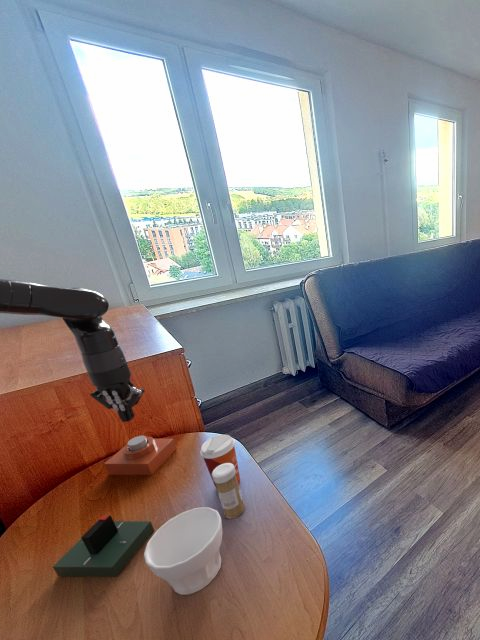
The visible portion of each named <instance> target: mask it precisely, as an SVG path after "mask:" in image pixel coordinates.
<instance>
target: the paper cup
mask: <svg viewBox="0 0 480 640" xmlns="http://www.w3.org/2000/svg"><path fill="white" fill-rule="evenodd" d="M199 455H200V457H201V458H202V459H203V461H204V463H205V465H206V468H207V471H208V473H209V475H210V478H211V480H212V483H213V485H214V487H215V490H216V491H217V487H216V484H215V482H214V481H213V478H212V472H213V470H214V469H215V468H216V467H218V466H219V465H221V464H224V463H231V464H233V465H234V467H235V471H236V473H235V474H236V478H237V482H238V485H239V486H240V483H241V477H240V470H239V464H238V463H239V462H238V458H237V452H236V440H235V438H234V437H232V436H231V435H229V434H225V433H224V434H218V435H215V436H212V437H210V438H208V439H206V440H205V441H204V443H203V444H202V445H201V447H200V451H199Z"/></svg>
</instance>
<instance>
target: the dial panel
mask: <svg viewBox="0 0 480 640" xmlns="http://www.w3.org/2000/svg"><path fill="white" fill-rule="evenodd" d="M113 521H114V523H115V525H116V528H117V530H118V532H117V533H116V534H115V536H114V537H113V538H112V539H111V540H110V541H109V542H108V543H107V544H106V545H105V546H104V547H103V549H102V550H101V551H100V552H99V553H98V554H90V553H89V552H88V550H87V548H86V546H85V544H84V542H83V540H82V539H81V538H80V539H79V540H78V541H77V542H76V543H75V544H74V545H73V546H71V548H70V549H69V550H68V551H67V552H66V553H65V554H64V555H63V556H62V557H61V558H60V559H59V560H58V561H57V562H56V563H55V564H54V565H53V566H52V569H53V571H54V572H55V573H56V575H57V576H58V577H60V578H62V577H64V578H65V577H69V578H70V577H71V578H76V577H77V578H78V577H79V578H83V577H86V578H89V577H90V578H103V577H104V578H105V577H106V578H117V577H118V576H119V575H120V573H122V571H123V570H124V569H125V568H126V566H127V565H128V563H129V562H130V561H131V560H132V559H133V557H134V556H135V555H137V553H138V551H139V550H140V549H141V548H142V547H143V545H144V544H145V543H146V541H148V539H149V537H150V536H151V535H152V534H154V532H155V529H154V526H153V523H152V521H149V520H146V521H144V520H143V521H142V520H141V521H139V520H125V521H124V520H113Z"/></svg>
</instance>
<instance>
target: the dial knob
mask: <svg viewBox="0 0 480 640" xmlns="http://www.w3.org/2000/svg"><path fill="white" fill-rule="evenodd" d="M114 521H115V520H114V519H113V517H112V515H110V514H109V515H108V514H103V515H102V516H101V517H99V519H98V520H97V521H95V523H94V524H93V525H92V526H91V527H90V528H89V529H88V530H87V531H85V533H84V534H83V535H82V536H81V537H80V539H82V540H83V542H84V544H85V546H86V548H87V550H88V552H89V553H90V554H98V553H99V552H100V551H101V550H102V549H103V547H104V546H105V545H106V544H107V543H108V542H109V541H110V540H111V539H112V538H113V537H114V536H115V534H116V533H117V532H118V530H117V528H116V525H115V523H114Z"/></svg>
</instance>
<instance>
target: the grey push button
mask: <svg viewBox="0 0 480 640" xmlns="http://www.w3.org/2000/svg"><path fill="white" fill-rule="evenodd" d="M146 437H147V436H145V435H138V436H135V437H133V438H131V439H129V440H128V441H127V443H126V445H127V444H128V447H129V449H130V451H135V450H139V449H141V448H143V447H145V446H146V445H147V444H148V442H147V440H146Z"/></svg>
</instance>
